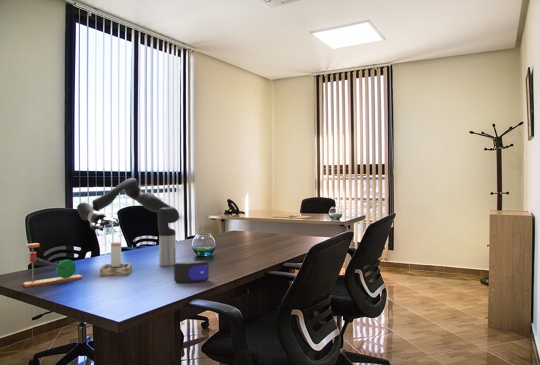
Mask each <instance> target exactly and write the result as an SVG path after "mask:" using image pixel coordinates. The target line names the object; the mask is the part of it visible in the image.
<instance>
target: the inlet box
mask: <svg viewBox="0 0 540 365" xmlns="http://www.w3.org/2000/svg"><path fill="white" fill-rule="evenodd" d="M132 264H133V263H132V262H124V263H122V262H121V266H119V267H111V263H107V264H106V263H104V264H103V266H102V267H101V268H100V269H99V277H111V276H128V275H130V274H131V272H132V269H133V267H132V266H133V265H132Z"/></svg>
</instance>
